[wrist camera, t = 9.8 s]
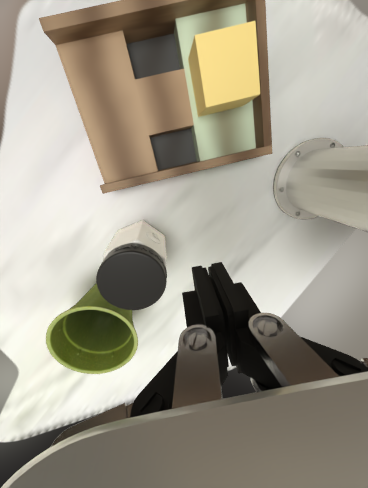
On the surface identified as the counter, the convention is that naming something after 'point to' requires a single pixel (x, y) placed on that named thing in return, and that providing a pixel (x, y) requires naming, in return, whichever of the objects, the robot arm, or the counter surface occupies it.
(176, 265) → the counter surface
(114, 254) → the jar
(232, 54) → the block
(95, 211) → the counter surface
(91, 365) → the plant pot
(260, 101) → the wooden tray
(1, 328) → the counter surface
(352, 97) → the counter surface
